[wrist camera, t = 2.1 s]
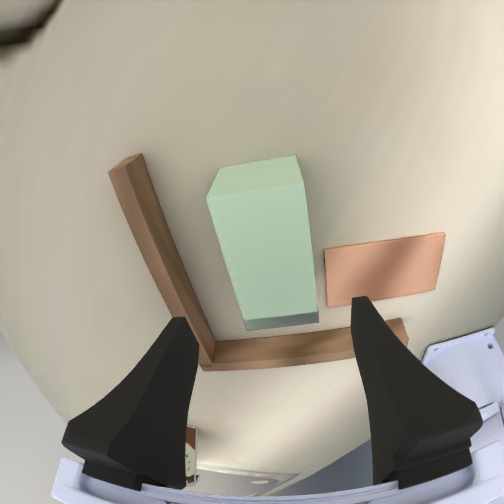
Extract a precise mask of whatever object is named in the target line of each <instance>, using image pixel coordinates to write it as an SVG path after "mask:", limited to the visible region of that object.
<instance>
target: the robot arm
mask: <svg viewBox="0 0 504 504" xmlns="http://www.w3.org/2000/svg"><path fill="white" fill-rule="evenodd" d="M494 332H495V329H494V327H492V328H489V329H486V330H483V331H480V332H477V333H473V334H470V335H467V336H463V337H460V338H456V339H453V340H449V341H446V342H442V343H438V344H434V345H431V346H429V347H428V348H427V351H426V353H425V356H424V358H423V361H422V363H421V362H420V361H419V360H418V359H417V358H416V357H415V356H414V355H413V354H412V353H411V352H410V351H409V350H408V348H407V347H406V346H405V345H404V344H403V343H402V342H401V341H400V340H399V338H398V337H397V336H396V335H395V334H394V332H393V331H392V330H391V329H390V327H389V326H388V325H387V324H386V322H385V321H384V320H383V318H382V317H381V315H380V314H379V313H378V311H377V310H376V308H375V307H374V306H373V304H372V302H371V301H370V299H369V298H368V297H367V296H360V297H354V298H352V308H351V335H352V341H353V347H354V352H355V356H356V360H357V363H358V367H359V371H360V375H361V378H362V382H363V386H364V390H365V394H366V399H367V405H368V412H369V421H370V431H371V441H372V457H373V486H369V487H364V488H359V489H353V490H347V491H340V492H332V493H323V494H313V495H300V496H276V497H253V496H229V495H216V494H205V493H197V492H189V491H182V490H181V489H183V488H185V487H186V486H187V484H186V465H185V451H186V429H187V417H188V410H189V404H190V400H191V395H192V390H193V386H194V381H195V377H196V372H197V367H198V359H199V347H200V345H199V343H198V341H197V339H196V337H195V335H194V333H193V331H192V329H191V327H190V325H189V323H188V321H187V319H186V317H185V316H184V317H173V318H172V319H171V320H170V322H169V323H168V324H167V326H166V327H165V328H164V330H163V331H162V333H161V334H160V335H159V337H158V338H157V339H156V341H155V342H154V343H153V345H152V346H151V347H150V349H149V350H148V351H147V353H146V354H145V355H144V356H143V358H142V359H141V360H140V361H139V363H138V364H137V365H136V366H135V367H134V369H133V370H132V371H131V372H130V373H129V374H128V375H127V376H126V377H125V378H124V379H123V380H122V381H121V382H120V383H119V384H118V385H117V386H116V387H115V388H114V389H113V390H112V391H111V392H110V393H108V394H107V395H106V396H105V397H104V398H103V399H101V400H100V401H99V402H97V403H96V404H95V405H93V406H92V407H91V408H89V409H88V410H86V411H85V412H83V413H82V414H80V415H78V416H77V417H75V418H73V419H72V420H70V421H69V422H68V425H67V428H66V430H65V433H64V436H63V439H62V444H63V446H64V447H66V448H67V449H69V450H70V451H71V452H73V453H75V454H77V455H78V456H80V457H81V458H83V459H85V463H84V464H82V463H80V462H77V461H75V460H72V459H69V458H67V457H64V456H63V457H62V459H61V462H60V465H59V468H58V472H57V475H56V479H55V482H54V486H53V489H52V493H51V496H52V497H53V498H55V499H57V500H59V501H61V502H63V503H65V504H171V503H173V504H364V503H367V504H504V355H503V353H502V351H501V350H500V347H499V345H498V343H497V341H496V339H495V338H494V336H493V334H494ZM164 487H166V488H164ZM169 488H173V489H169ZM175 489H178V490H175ZM179 489H180V490H179Z"/></svg>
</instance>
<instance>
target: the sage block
mask: <svg viewBox="0 0 504 504" xmlns="http://www.w3.org/2000/svg"><path fill="white" fill-rule="evenodd" d="M206 201H207V204H208V207H209V211H210V214H211V217H212V221H213V224H214V227H215V231H216V234H217V237H218V240H219V244H220V247H221V250H222V253H223V257H224V260H225V263H226V266H227V269H228V273H229V276H230V279H231V282H232V285H233V288H234V291H235V295H236V298H237V301H238V304H239V307H240V310H241V313H242V316H243V321H244V324H245V327H246V330H247V331H248V330H259V329H269V328H278V327H287V326H296V325H304V324H311V323H319V314H318V306H317V295H316V284H315V273H314V263H313V253H312V244H311V235H310V227H309V219H308V211H307V203H306V195H305V188H304V182H303V178H302V175H301V172H300V168H299V165H298V161H297V158H296V155H293V156H286V157H280V158H273V159H267V160H261V161H255V162H250V163H244V164H239V165H233V166H228V167H223V168H220V169H219V172H218V174H217V176H216V178H215V180H214V182H213V184H212V187H211V189H210V191H209V193H208V195H207V197H206Z"/></svg>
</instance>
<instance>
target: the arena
mask: <svg viewBox="0 0 504 504" xmlns="http://www.w3.org/2000/svg"><path fill="white" fill-rule="evenodd" d="M108 174H109V177H110V179H111V182H112V185H113V187H114V190H115V192H116V195H117V197H118V200H119V202H120V205H121V207H122V210H123V212H124V215H125V217H126V219H127V222H128V224H129V226H130V229H131V231H132V233H133V236H134V238H135V240H136V242H137V245H138V247H139V249H140V251H141V253H142V256H143V258H144V260H145V262H146V264H147V266H148V268H149V271H150V273H151V275H152V277H153V279H154V281H155V283H156V285H157V287H158V289H159V291H160V293H161V295H162V297H163V299H164V301H165V303H166V305H167V307H168V309H169V311H170V313H171V314H172V316H173V317H184V316H185V317H186V319H187V321H188V323H189V325H190V327H191V329H192V331H193V333H194V335H195V337H196V339H197V341H198V343H199V345H200V347H199V359H198V363H199V365H200V366H201V368H202V370H203V371H229V370H249V369H263V368H276V367H287V366H297V365H306V364H314V363H322V362H329V361H336V360H343V359H350V358H356V356H355V352H354V347H353V341H352V335H351V327H347V328H341V329H334V330H327V331H319V332H312V333H304V334H295V335H286V336H277V337H267V338H256V339H244V340H230V341H215V338H214V336H213V334H212V332H211V330H210V327H209V325H208V323H207V321H206V319H205V316H204V314H203V312H202V309H201V307H200V305H199V303H198V300H197V298H196V296H195V293H194V291H193V289H192V286H191V284H190V281H189V279H188V277H187V274H186V272H185V269H184V267H183V264H182V262H181V259H180V257H179V254H178V252H177V249H176V247H175V244H174V242H173V239H172V237H171V234H170V231H169V229H168V226H167V224H166V221H165V218H164V216H163V213H162V210H161V207H160V205H159V202H158V199H157V196H156V193H155V191H154V188H153V185H152V182H151V179H150V176H149V173H148V170H147V168H146V165H145V162H144V159H143V155H142V154H138V155H135V156H132V157H129V158H126V159H124V160H123V161H122V162H120V163H119V164H118V165H116V166H115V167H114V168H113V169H111V170H110V171H109V172H108ZM445 236H446V234H445V233H444V232H443V233H436V234H430V235H423V236H416V237H409V238H402V239H395V240H388V241H381V242H374V243H367V244H360V245H353V246H345V247H338V248H331V249H324V255H325V269H326V284H327V303H328V308H332V307H339V306H345V305H352V298H354V297H360V296H367V297H368V298H369V299H370V301H377V300H383V299H388V298H394V297H399V296H405V295H410V294H415V293H421V292H426V291H431V290H435V287H436V282H437V278H438V273H439V269H440V264H441V259H442V254H443V248H444V242H445ZM385 322H386V324H387V325H388V326H389V327H390V329H391V330H392V331H393V332H394V334H395V335H396V336H397V337H398V338H399V340H400V341H401V342H402V343H403V344H404V345H405V346H406V347H407V344H408V341H409V338H408V336H407V333H406V330H405V328H404V325H403V322H402V320H401V318H399V319H394V320H388V321H385Z"/></svg>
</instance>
